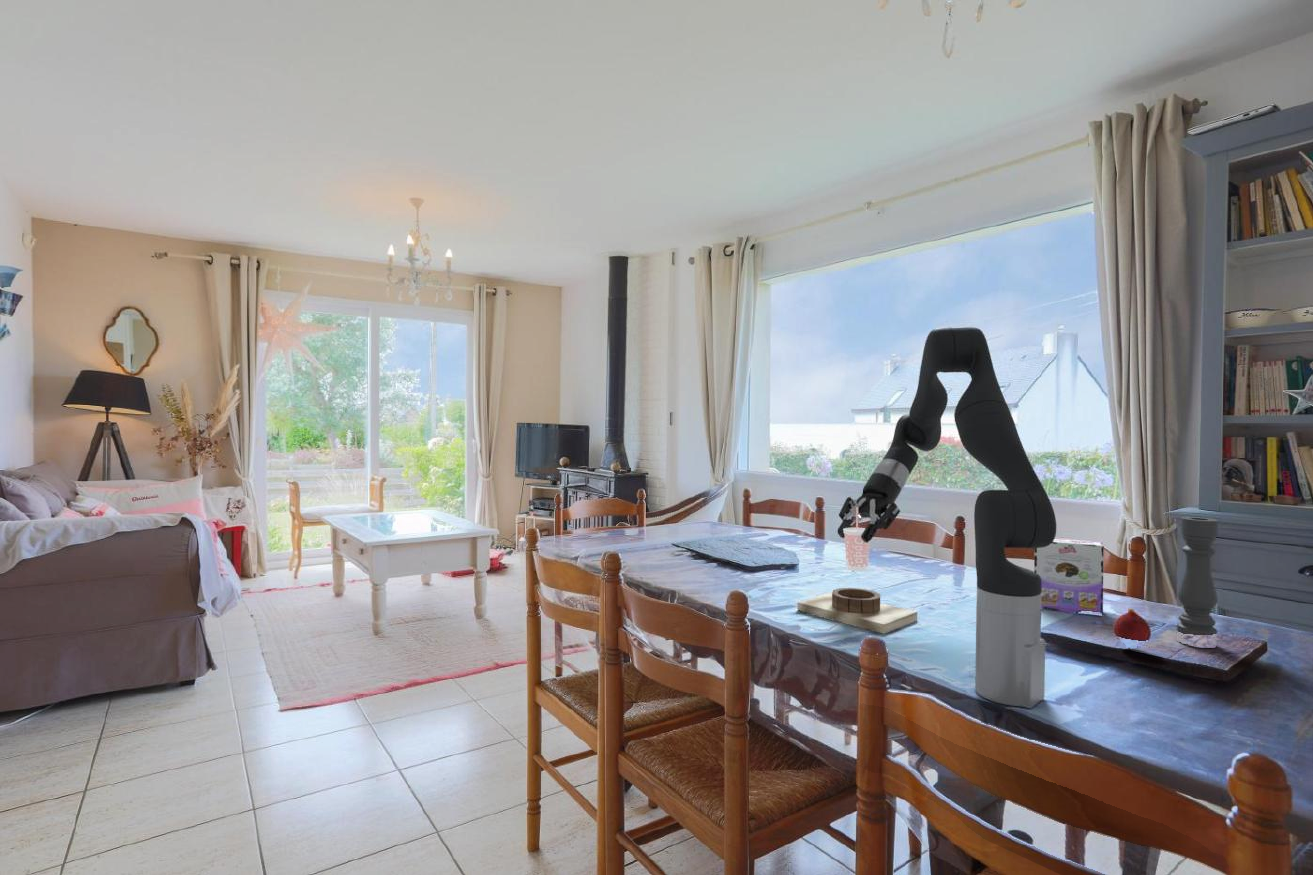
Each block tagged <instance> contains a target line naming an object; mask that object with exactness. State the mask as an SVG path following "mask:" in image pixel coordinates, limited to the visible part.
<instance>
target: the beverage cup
mask: <svg viewBox="0 0 1313 875" xmlns="http://www.w3.org/2000/svg"><path fill="white" fill-rule="evenodd" d="M858 515H859V512H858V507H856V522H855V527H851V528H844V529H843V531H844V532H843V533H844V534H845V538H844V548H845V549H844V550H845V566H846V569H847V571H853V572H866V571H868V570H869V569H868V568H869V554H870V541H871V540H870V541H869V542H868V543H866V542H864V541H863V540H862V538H861V535H862V534H863V532H864V530H865V529H866V527H859V521H858Z"/></svg>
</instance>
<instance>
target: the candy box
mask: <svg viewBox="0 0 1313 875" xmlns="http://www.w3.org/2000/svg"><path fill="white" fill-rule="evenodd" d="M1033 549H1034V560H1033V561H1034V562H1033V565H1034V566H1033V568H1034V570H1033V572H1035V573H1037V574H1038V575H1039V576H1040V577H1041V581H1042V592H1041V610H1046V611H1047V610H1049V611H1055V612H1063V613H1070V614H1071V613H1072V614H1078V612H1081V611H1092V612H1100V613H1103V614H1104V544H1103V541H1094V540H1093V541H1092V540H1080V539H1079V540H1078V539H1067V538H1066V539H1065V538H1056V537H1055V538H1054V541H1053V542H1052V543H1051V544H1050V545H1048V546H1046V547H1041V548H1033Z"/></svg>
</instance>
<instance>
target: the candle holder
mask: <svg viewBox="0 0 1313 875" xmlns="http://www.w3.org/2000/svg"><path fill="white" fill-rule="evenodd" d="M1180 520H1181V521H1180V534H1181V535H1182V539H1183V540H1184V543H1186V545H1184V546H1183V547H1181V551H1182V552H1183V553H1184V555H1185V569H1184V570H1185V571H1184V573H1183V575H1182V576H1183V577H1182V580H1181V583H1180V586H1179V589H1178V592H1177V599H1178V600H1179V602H1180V604H1181V605H1182V606H1183V607H1182V609H1183V610H1184V611H1182V613H1181V614H1179V616H1178V620H1179V621H1180V622H1177V624H1176V632H1177V631H1178V632H1181V633H1183V634H1193V635H1213V634H1217V635H1218V633H1217V632H1218V630H1217V629H1216V628H1215V625H1216V620H1215V619H1214V618H1213V616H1212V615H1210V614H1211V613H1212V612H1213V610H1212V609H1214V608H1215V606H1216V605H1217V603H1218V595H1217V591H1216V587H1215V583H1214V578H1213V575H1212V569H1211V568H1212V566H1211V565H1212V557H1213V556H1214V555H1216V553H1217V552H1216V549H1214V548H1213V547H1212V546H1213V544H1214V543H1215V541H1216V539H1217V538H1218V534H1219V532H1218V530H1219V529H1218V527H1219V519H1214V518H1209V517H1208V518H1207V517H1201V516H1200V517H1197V516H1181V517H1180Z"/></svg>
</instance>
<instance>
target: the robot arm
mask: <svg viewBox="0 0 1313 875" xmlns="http://www.w3.org/2000/svg"><path fill="white" fill-rule="evenodd" d="M925 339H926V340H925V342H924V347H923V352H922V358H921V363H920V368H919V376H918V382H917V389H916V393H915V395H914V398H913V401H912V404H911V406H910V408H909V413H905V414H903V415H902V416H901V417H899V419H898V420H897V423H896V425H895V428H894V433H893V438H892V442H891V444H890V446H889V448H888V450H887V452H886V453H885V455H884V457H883V458H882V459H881V461H880V463H879V464H877V466H876V467H875V469H874V471H873V472H872V473H871V475H870V476H869V478H868V480H867V482H865V484H864V486H863V488H862V493H861V495H860V496H858V498H857V499H853V498H852V497H851V496H849V497H847V498H846V499H845V501H844V504H843V505H842V508H841V509H840V511H839V513H838V517H839V518H840V519H841V521H842V522H841V523H840V525H839V527H838V528H837V535H839V537H840V538H842V539H845V534H844V533H843V532H844V531H843V529H844V528H852V526H853V525H854V524H856V507H858V522H860V521H862V520H863V519H869V523H868V524H867V526H866V527H865V528H866V529H865V530H864V532H863V534H862V535H861V538H862V540H863V541H864V542H866V543H868V542H869V541H872V539H873V537H874V536H875V534H876V533H877V532H878V531H879V530H880V529H882V530H885V531H886V530H888V529H889V527H890V526H891V524H892V523H893V522H894V520H895V519H896V518H897V516H899V514H900V513H901V510H900V508H899V506H898V505H897V504H896V500H897V499H898V496H900V493H901V492H902V490H903V488H904V487H905V485H906V483H907V481H908V479H909V476H910V475H911V473H912V472H913V470H914V468H915V467H916V466H917V464H918V461H919V455H918V453H917V451H916V450H915V449H914V448H916V449H918V450H920V451H921V452H922V451H923V452H930V451H932V450H934V449H935V448H936V447H937V446H938V445H939V443H940V441H941V438H942V437H941V436H942V420H941V419H942V417H943V415H944V413H945V410H946V408H947V406H948V402H949V401H948V399H949V398H948V396H949V395H948V392H947V390H946V388H945V386H944V384H943V383H942V382H941V380H940V379H939V377H938V373H966V374H968V375H969V376H970V378H971V380H970V382H969V385H968V386H967V388H966V390H965V391H964V392H963V394H962V395H961V397H960V398H959V400H958V402H957V404H956V406H955V409H954V414H953V415H954V418H953V419H954V423H955V426H956V430H957V432H958V436H959V440H960V442H961V444H962V446H963V448H964V449H965V450H966V452H967V453H968V454H969V455H970V456H971V457H973V459H974V460H976V461H977V462H978V463H980V464H981V465H982V466H983V467H985V468H986V469H987V470H989V471H990V472H991V473H993V475H995V477H997V478H998V479H999V480H1000V481H1001V482H1002V483H1003V485H1004V486H1005V487H1006V489H1007V490H1006V489H988V490H983V491H981V492H980V493H979V494H978V495H977V498H976V500H975V504H974V513H973V514H974V515H973V520H974V521H973V522H974V523H973V524H974V540H975V541H974V542H975V544H974V545H975V571H976V607H975V608H976V609H975V610H976V612H975V614H976V618H975V620H976V621H975V664H974V666H975V670H974V671H975V675H974V684H975V685H974V687H975V689H974V690H975V692H976V693H977V694H978V695H979V696H980V697H982V698H984V699H987V700H989V701H992V702H993V703H994V702H995V703H998V704H1002V705H1007V706H1011V707H1012V706H1013V707H1014V706H1015V707H1024V708H1025V709H1026V708H1027V709H1032V708H1033V707H1034V706H1036V705H1037V704H1039V703H1040V702H1041V701H1042V700H1044V699H1045V685H1046V684H1045V677H1046V674H1045V673H1046V639H1044V638H1043V637H1041V635H1042V633H1041V632H1042V629H1041V628H1042V609H1041V592H1042V581H1041V577H1040V576H1039V575H1038V574H1037V573H1035V572H1034V570H1030V569H1028V568H1026V567H1023V566H1019V565H1017V564H1014V563H1013V562H1011V561H1010V560H1008V559H1007V557H1006V551H1005V550H1006V548H1007V549H1009V548H1010V549H1034V548H1041V547H1046V546H1048V545H1050V544H1051V543H1052V542H1053V541H1054V538H1055V539H1056V535H1057V520H1056V514H1055V510H1054V508H1053V504H1052V502H1051V500H1050V498H1049V495H1048V493H1047V492H1046V490H1045V488H1044V486H1043V484H1042V482H1041V481H1040V479H1039V477H1038V474H1037V473H1036V471H1035V470H1034V468H1033V465H1032V464H1031V462H1030V459H1029V457H1028V455H1027V453H1026V450H1025V448H1024V446H1023V443H1022V441H1021V438H1020V435H1019V432H1018V430H1017V427H1016V423H1015V421H1014V418H1013V415H1012V412H1011V411H1010V408H1009V406H1008V402H1007V401H1006V399H1005V397H1004V395H1003V391H1002V389H1001V387H1000V384H999V381H998V379H997V374H996V372H995V368H994V364H993V361H992V356H991V352H990V348H989V345H988V341H987V338H986V336H985V334H984V332H983V331H982V330H981V329H980V328H978V327H975V326H946V327H945V326H944V327H937V328H936V327H935V328H934V329H932V330H930V331H929V332H928V335H927V337H926V338H925ZM913 447H914V448H913ZM852 517H853V518H852ZM869 543H870V542H869Z"/></svg>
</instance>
